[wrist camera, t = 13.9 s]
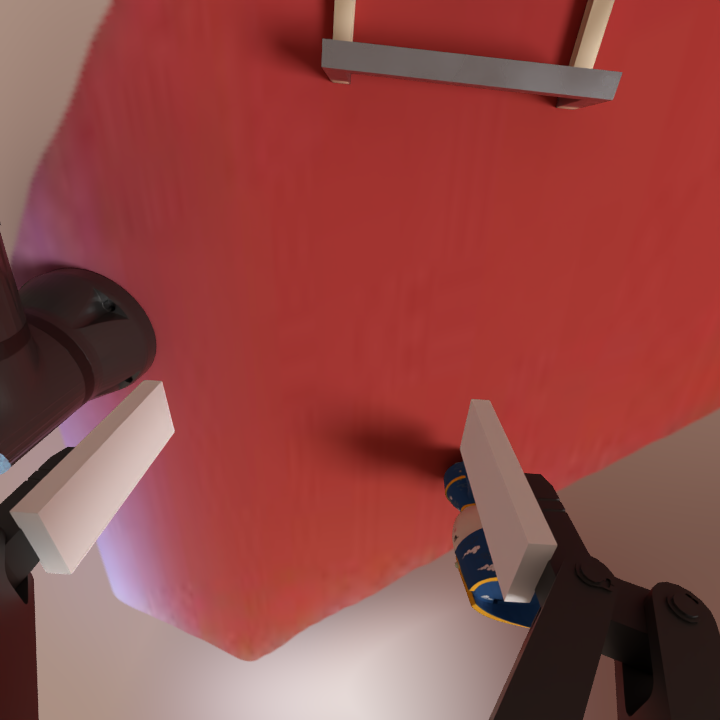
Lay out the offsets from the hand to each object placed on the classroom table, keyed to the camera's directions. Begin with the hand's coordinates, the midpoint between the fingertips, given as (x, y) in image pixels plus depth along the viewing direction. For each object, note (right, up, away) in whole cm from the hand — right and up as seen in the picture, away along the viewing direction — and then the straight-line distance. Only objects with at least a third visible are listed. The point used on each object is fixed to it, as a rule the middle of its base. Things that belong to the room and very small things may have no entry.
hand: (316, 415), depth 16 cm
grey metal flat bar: (+10, +26, +16) cm, 32 cm away
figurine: (+18, -12, +37) cm, 42 cm away
